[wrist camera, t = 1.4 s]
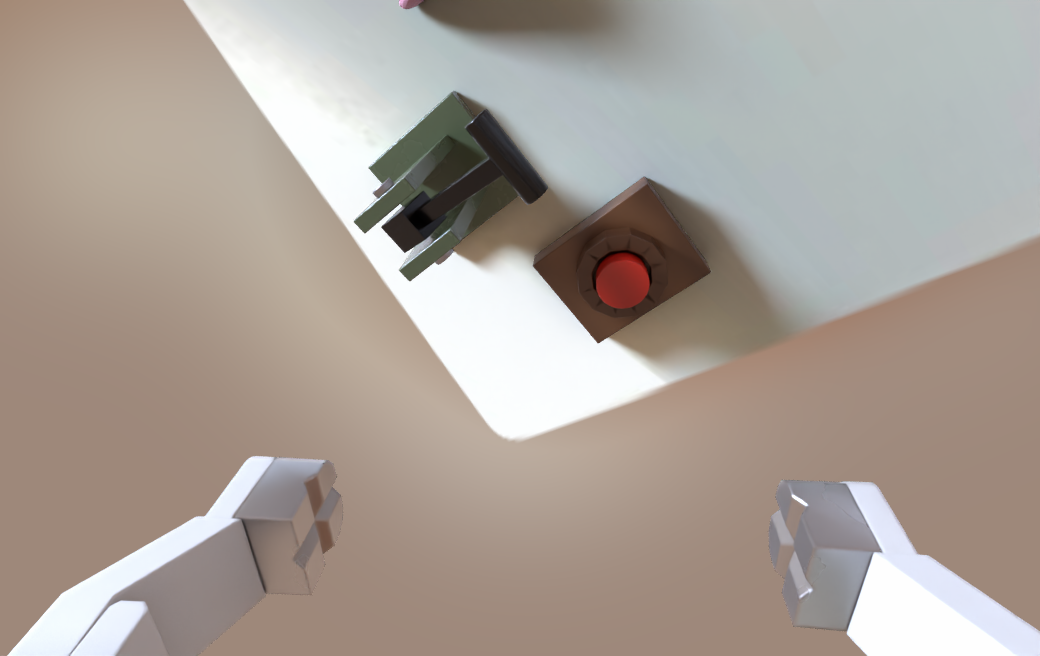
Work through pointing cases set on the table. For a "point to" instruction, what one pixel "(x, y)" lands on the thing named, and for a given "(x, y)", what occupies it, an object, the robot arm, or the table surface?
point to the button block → (614, 229)
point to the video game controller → (409, 3)
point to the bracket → (435, 181)
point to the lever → (467, 184)
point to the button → (622, 280)
